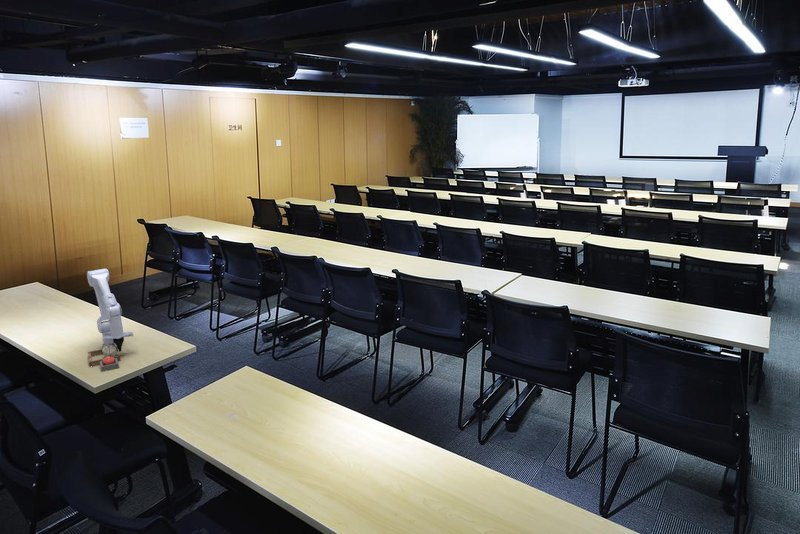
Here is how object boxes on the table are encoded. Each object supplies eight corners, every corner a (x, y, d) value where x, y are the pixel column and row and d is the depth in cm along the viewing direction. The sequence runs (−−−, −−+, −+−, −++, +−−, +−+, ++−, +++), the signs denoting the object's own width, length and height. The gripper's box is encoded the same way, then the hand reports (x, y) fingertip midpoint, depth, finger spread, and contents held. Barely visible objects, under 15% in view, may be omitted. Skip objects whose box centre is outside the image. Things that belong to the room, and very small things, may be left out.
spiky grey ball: (113, 364, 291) (111, 355, 283) (97, 359, 290) (95, 349, 283) (122, 351, 297) (121, 341, 290) (107, 346, 296) (105, 336, 289)
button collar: (100, 365, 281) (99, 361, 281) (117, 362, 285) (117, 357, 285) (101, 371, 275) (100, 367, 274) (119, 367, 279) (118, 363, 278)
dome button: (103, 363, 280) (102, 355, 279) (114, 361, 283) (113, 353, 282) (104, 366, 276) (102, 359, 275) (115, 364, 279) (113, 357, 278)
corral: (88, 356, 293) (87, 351, 292) (117, 350, 300) (117, 346, 299) (89, 366, 280) (89, 362, 279) (120, 360, 287) (119, 356, 286)
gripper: (101, 332, 283) (105, 356, 286) (132, 326, 290) (135, 350, 293) (100, 328, 288) (104, 351, 292) (130, 322, 296) (134, 346, 299)
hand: (120, 350), depth 293 cm, fingers closed
